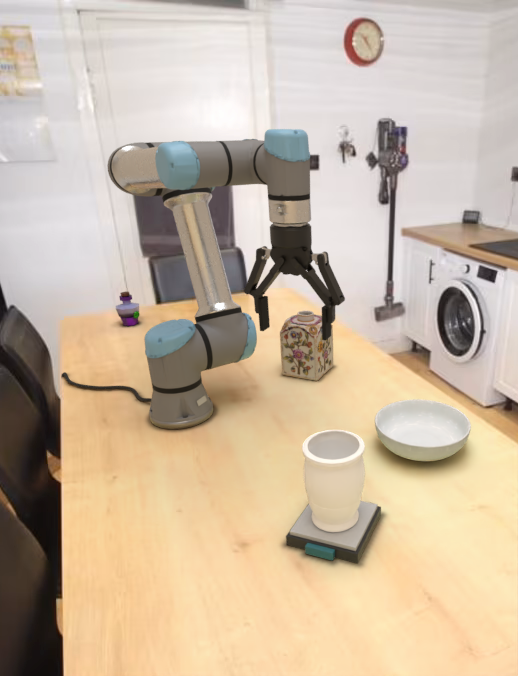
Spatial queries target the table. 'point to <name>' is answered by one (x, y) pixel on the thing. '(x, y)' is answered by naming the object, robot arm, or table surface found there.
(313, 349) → the decorative jar
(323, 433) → the jar
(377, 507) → the scale
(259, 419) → the table surface
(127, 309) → the potion bottle
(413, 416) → the serving bowl
